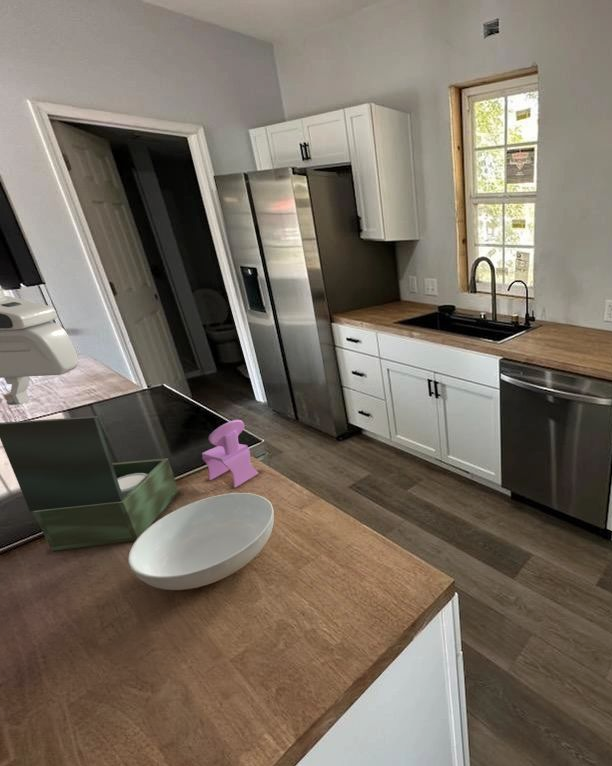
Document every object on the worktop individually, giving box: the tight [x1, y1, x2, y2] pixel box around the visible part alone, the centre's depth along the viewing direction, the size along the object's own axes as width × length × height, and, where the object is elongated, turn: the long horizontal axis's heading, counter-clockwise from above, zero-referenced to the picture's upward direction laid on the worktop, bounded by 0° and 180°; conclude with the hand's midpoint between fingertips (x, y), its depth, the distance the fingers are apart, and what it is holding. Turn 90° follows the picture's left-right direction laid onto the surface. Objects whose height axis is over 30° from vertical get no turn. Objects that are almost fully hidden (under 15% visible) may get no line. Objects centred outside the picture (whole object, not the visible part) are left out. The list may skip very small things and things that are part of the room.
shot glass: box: [117, 473, 148, 498], centre depth 84 cm, size 7×7×7 cm
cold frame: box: [32, 457, 180, 552], centre depth 83 cm, size 16×14×9 cm
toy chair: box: [201, 419, 259, 488], centre depth 96 cm, size 8×9×15 cm
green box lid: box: [0, 415, 124, 512], centre depth 71 cm, size 17×14×1 cm
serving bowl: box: [127, 492, 275, 591], centre depth 74 cm, size 21×21×7 cm
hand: (5, 404), depth 62 cm, fingers closed
